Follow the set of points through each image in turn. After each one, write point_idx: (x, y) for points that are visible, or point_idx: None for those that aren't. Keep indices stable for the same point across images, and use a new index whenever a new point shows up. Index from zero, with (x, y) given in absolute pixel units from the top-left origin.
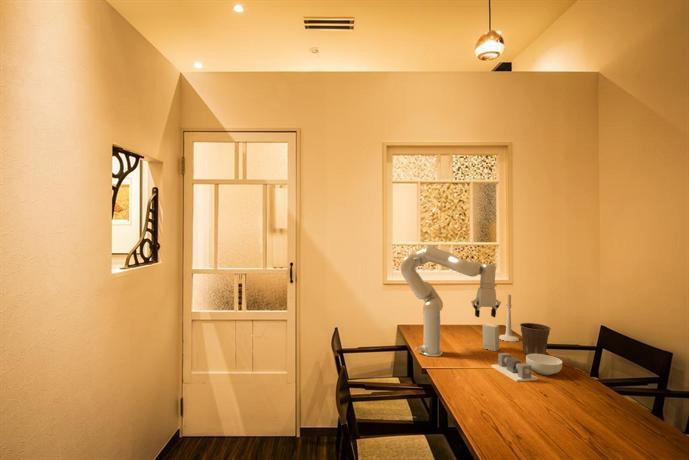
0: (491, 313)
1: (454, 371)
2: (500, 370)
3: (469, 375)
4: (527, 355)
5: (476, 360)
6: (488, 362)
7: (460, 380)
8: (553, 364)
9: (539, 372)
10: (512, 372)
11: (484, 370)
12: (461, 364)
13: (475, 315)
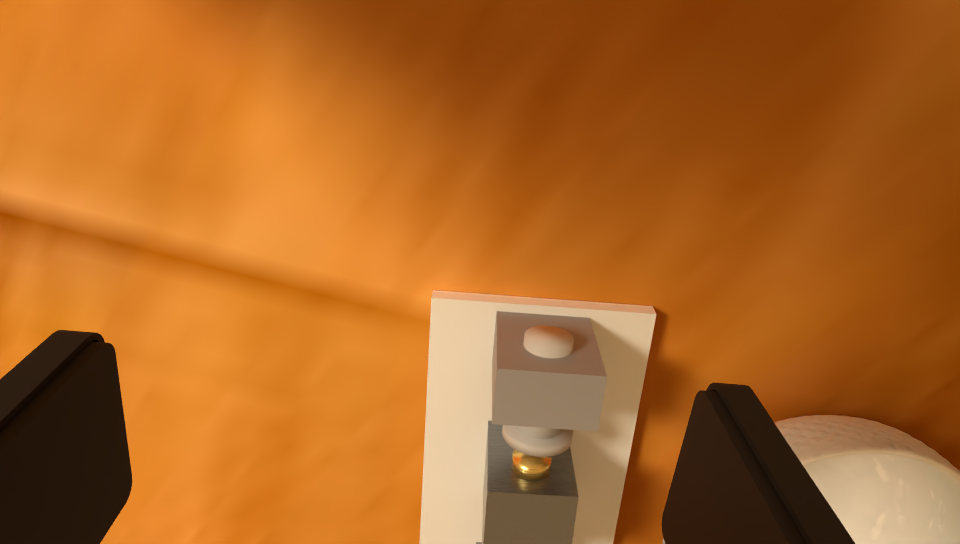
0: (727, 456)
1: (19, 293)
2: (426, 415)
3: None
4: None
5: (389, 96)
6: (480, 185)
7: None
8: (930, 520)
9: None
10: (483, 487)
11: (310, 344)
12: (162, 157)
13: (58, 346)
